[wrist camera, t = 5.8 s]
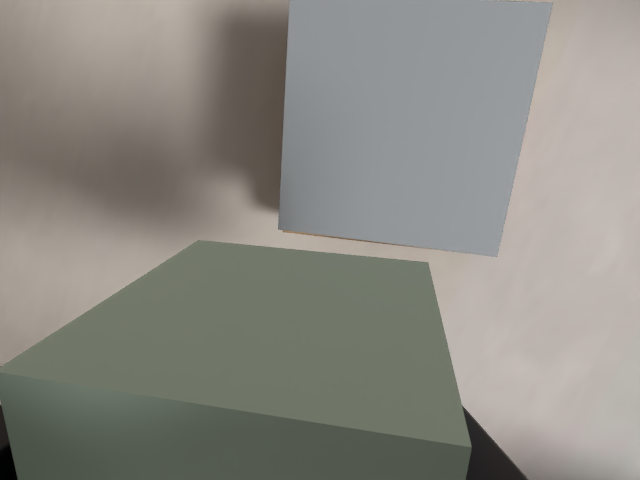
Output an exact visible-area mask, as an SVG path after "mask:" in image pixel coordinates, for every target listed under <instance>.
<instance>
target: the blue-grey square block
mask: <svg viewBox="0 0 640 480" xmlns="http://www.w3.org/2000/svg"><path fill="white" fill-rule="evenodd" d="M552 5H553V3H548V2H523V1H498V0H290V1H289V21H288V41H287V61H286V81H285V101H284V121H283V141H282V161H281V181H280V202H279V222H278V229H279V230H287V231H295V232H303V233H311V234H318V235H326V236H334V237H342V238H350V239H358V240H366V241H374V242H382V243H390V244H398V245H405V246H413V247H421V248H429V249H437V250H445V251H453V252H461V253H469V254H477V255H485V256H492V257H497V256H498V251H499V246H500V242H501V237H502V233H503V228H504V224H505V219H506V215H507V210H508V205H509V201H510V196H511V192H512V187H513V183H514V178H515V173H516V169H517V164H518V160H519V155H520V151H521V146H522V142H523V137H524V132H525V128H526V123H527V119H528V114H529V110H530V105H531V101H532V96H533V91H534V87H535V82H536V78H537V73H538V69H539V64H540V60H541V55H542V50H543V46H544V41H545V37H546V32H547V28H548V23H549V18H550V14H551V9H552Z"/></svg>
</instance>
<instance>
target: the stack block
mask: <svg viewBox="0 0 640 480" xmlns="http://www.w3.org/2000/svg"><path fill="white" fill-rule="evenodd" d="M0 401H1V406H2V410H3V415H4V419H5V424H6V428H7V433H8V437H9V442H10V447H11V451H12V456H13V460H14V465H15V469H16V474H17V478H18V480H466V475H467V470H468V465H469V460H470V454H471V449H472V446H471V442H470V437H469V433H468V429H467V425H466V421H465V416H464V412H463V408H462V404H461V399H460V395H459V391H458V387H457V383H456V378H455V374H454V370H453V366H452V361H451V357H450V353H449V349H448V345H447V340H446V336H445V332H444V328H443V323H442V319H441V315H440V311H439V307H438V302H437V298H436V294H435V290H434V285H433V281H432V277H431V273H430V269H429V264H428V262H418V261H408V260H397V259H387V258H377V257H366V256H356V255H346V254H336V253H325V252H315V251H305V250H294V249H284V248H274V247H263V246H253V245H243V244H233V243H222V242H212V241H202V240H198V241H197V242H195V243H193V244H192V245H190V246H189V247H187V248H186V249H184V250H183V251H181V252H179V253H178V254H176V255H175V256H173V257H172V258H170V259H168V260H167V261H165V262H164V263H162V264H161V265H159V266H158V267H156V268H154V269H153V270H151V271H150V272H148V273H147V274H145V275H143V276H142V277H140V278H139V279H137V280H136V281H134V282H133V283H131V284H129V285H128V286H126V287H125V288H123V289H122V290H120V291H119V292H117V293H115V294H114V295H112V296H111V297H109V298H108V299H106V300H104V301H103V302H101V303H100V304H98V305H97V306H95V307H94V308H92V309H90V310H89V311H87V312H86V313H84V314H83V315H81V316H80V317H78V318H76V319H75V320H73V321H72V322H70V323H69V324H67V325H65V326H64V327H62V328H61V329H59V330H58V331H56V332H55V333H53V334H51V335H50V336H48V337H47V338H45V339H44V340H42V341H40V342H39V343H37V344H36V345H34V346H33V347H31V348H30V349H28V350H26V351H25V352H23V353H22V354H20V355H19V356H17V357H16V358H14V359H12V360H11V361H9V362H8V363H6V364H5V365H3V366H1V367H0Z"/></svg>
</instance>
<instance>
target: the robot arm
mask: <svg viewBox="0 0 640 480" xmlns="http://www.w3.org/2000/svg"><path fill="white" fill-rule="evenodd" d="M462 408H463V412H464V416H465V421H466V425H467V429H468V433H469V437H470V442H471V446H472V449H471V454H470V460H469V465H468V470H467V475H466V480H528V479H527V477H526V476H525V475H524V474H523V473H522V472H521V471H520V470H519V468H518V467H517V466H516V465H515V464H514V463H513V462H512V461H511V459H510V458H509V457H508V456H507V455H506V454H505V453H504V452H503V450H502V449H501V448H500V447H499V446H498V445H497V444H496V443H495V442H494V440H493V439H492V438H491V437H490V436H489V435H488V434H487V433H486V431H485V430H484V429H483V428H482V427H481V426H480V425H479V424H478V422H477V421H476V420H475V419H474V418H473V417H472V416H471V415H470V413H469V412H468V411H467V410H466V409H465V408H464V407H463V406H462ZM0 480H18V478H17V474H16V469H15V465H14V460H13V456H12V451H11V447H10V442H9V437H8V433H7V428H6V424H5V419H4V415H3V410H2V406H1V405H0Z"/></svg>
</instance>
